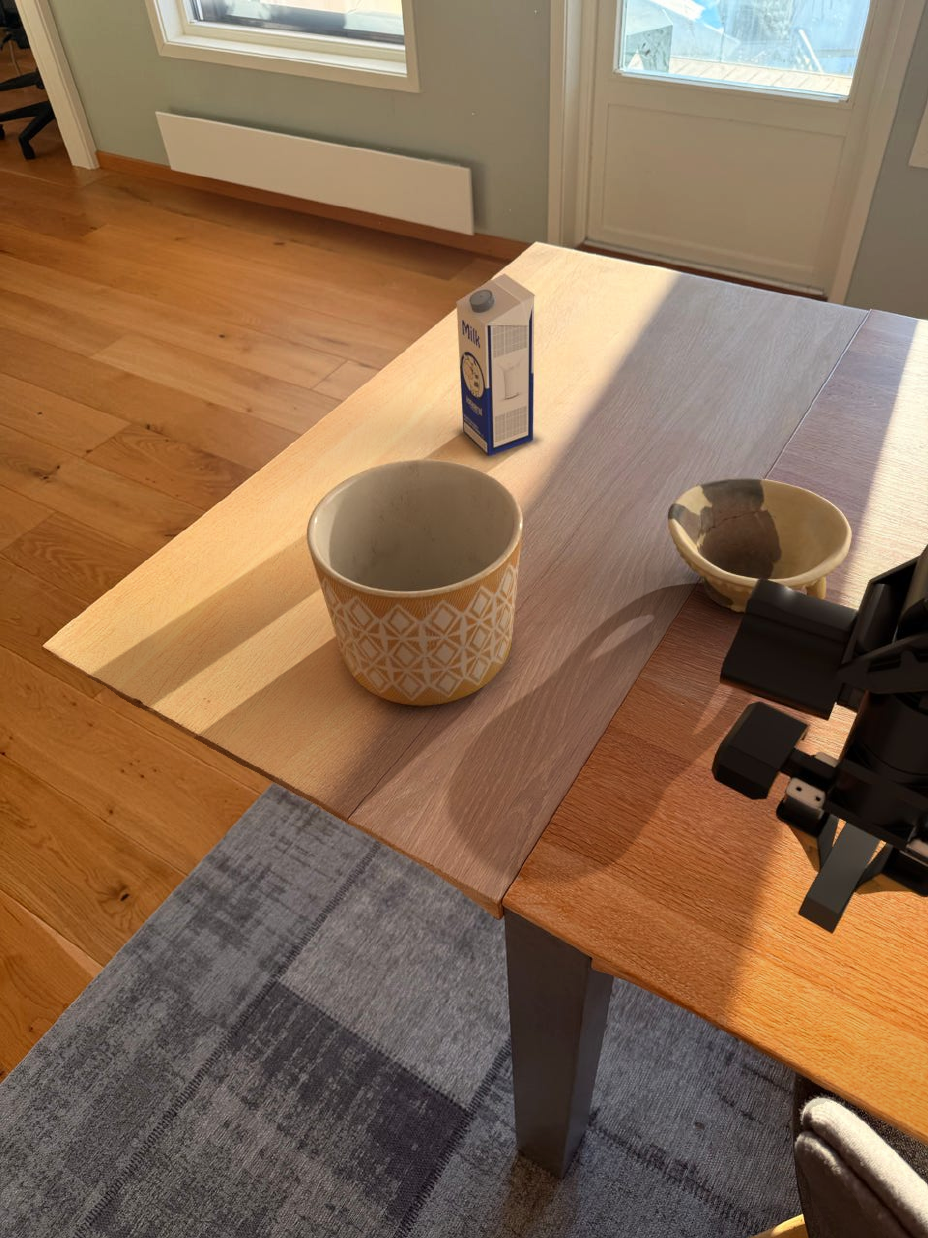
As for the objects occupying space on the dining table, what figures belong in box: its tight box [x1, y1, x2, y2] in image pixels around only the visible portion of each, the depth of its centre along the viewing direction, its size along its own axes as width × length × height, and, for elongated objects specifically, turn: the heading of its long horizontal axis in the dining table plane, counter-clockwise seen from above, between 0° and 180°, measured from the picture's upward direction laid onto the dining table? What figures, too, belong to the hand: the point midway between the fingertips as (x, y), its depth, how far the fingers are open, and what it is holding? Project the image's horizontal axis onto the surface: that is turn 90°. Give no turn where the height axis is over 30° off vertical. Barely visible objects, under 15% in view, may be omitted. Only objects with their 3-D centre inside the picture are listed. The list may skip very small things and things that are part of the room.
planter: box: [306, 459, 524, 707], centre depth 87 cm, size 19×19×16 cm
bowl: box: [667, 477, 853, 613], centre depth 93 cm, size 18×18×10 cm
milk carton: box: [455, 273, 536, 457], centre depth 112 cm, size 7×7×20 cm
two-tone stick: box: [797, 822, 882, 935], centre depth 63 cm, size 17×2×2 cm, turn 142°
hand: (839, 877), depth 61 cm, fingers closed on two-tone stick, 2 cm apart
